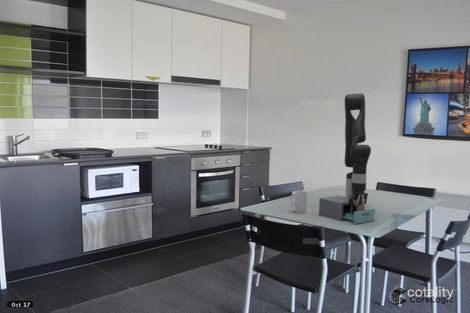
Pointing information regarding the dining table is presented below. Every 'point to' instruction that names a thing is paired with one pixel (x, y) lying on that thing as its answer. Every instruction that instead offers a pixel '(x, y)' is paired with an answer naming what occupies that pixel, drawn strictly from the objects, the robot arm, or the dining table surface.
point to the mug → (299, 201)
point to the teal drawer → (360, 216)
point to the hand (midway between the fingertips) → (357, 212)
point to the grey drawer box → (334, 207)
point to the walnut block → (358, 207)
